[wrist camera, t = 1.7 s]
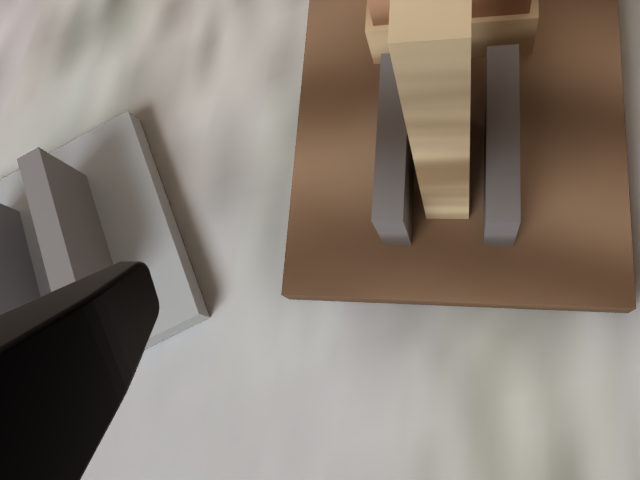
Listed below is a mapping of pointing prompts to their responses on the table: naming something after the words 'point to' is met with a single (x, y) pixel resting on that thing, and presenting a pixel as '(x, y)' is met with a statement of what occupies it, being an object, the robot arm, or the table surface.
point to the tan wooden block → (435, 97)
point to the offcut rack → (484, 181)
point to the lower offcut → (473, 33)
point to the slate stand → (94, 223)
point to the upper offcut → (484, 4)
